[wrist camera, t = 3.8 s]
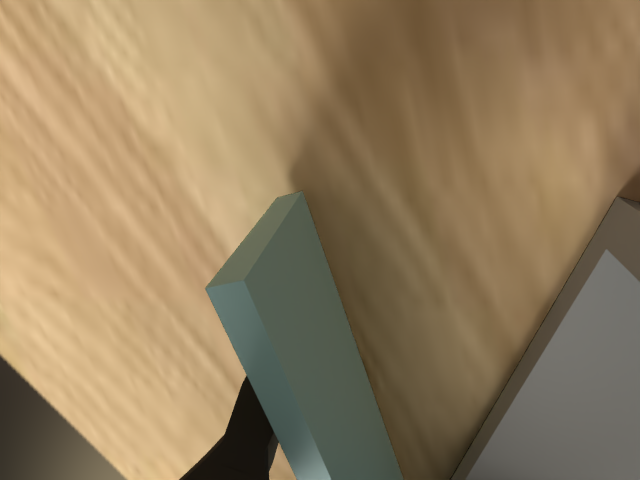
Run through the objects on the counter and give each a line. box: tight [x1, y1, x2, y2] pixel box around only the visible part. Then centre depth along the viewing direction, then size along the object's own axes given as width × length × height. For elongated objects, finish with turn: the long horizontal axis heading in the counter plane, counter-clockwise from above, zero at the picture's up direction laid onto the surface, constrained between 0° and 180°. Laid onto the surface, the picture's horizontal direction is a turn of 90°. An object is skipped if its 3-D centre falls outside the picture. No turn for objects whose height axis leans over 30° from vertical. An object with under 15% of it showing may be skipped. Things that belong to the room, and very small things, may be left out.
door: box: [205, 191, 404, 480], centre depth 13 cm, size 15×2×5 cm, turn 19°
